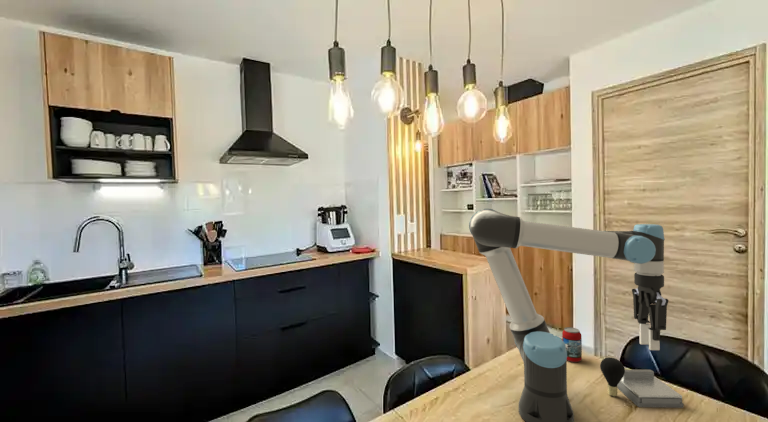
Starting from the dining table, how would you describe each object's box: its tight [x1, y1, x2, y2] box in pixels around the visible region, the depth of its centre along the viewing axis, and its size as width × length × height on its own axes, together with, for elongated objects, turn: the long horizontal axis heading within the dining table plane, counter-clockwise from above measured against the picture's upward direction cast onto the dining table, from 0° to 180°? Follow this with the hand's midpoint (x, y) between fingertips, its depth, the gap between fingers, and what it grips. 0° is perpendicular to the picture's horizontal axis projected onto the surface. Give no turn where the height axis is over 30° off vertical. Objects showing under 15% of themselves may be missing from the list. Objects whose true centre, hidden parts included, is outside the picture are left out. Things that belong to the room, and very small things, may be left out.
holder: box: [617, 382, 684, 409], centre depth 116 cm, size 13×18×3 cm
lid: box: [620, 368, 683, 399], centre depth 113 cm, size 13×12×3 cm
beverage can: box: [561, 326, 583, 363], centre depth 140 cm, size 7×7×12 cm
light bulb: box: [599, 357, 625, 397], centre depth 114 cm, size 7×7×12 cm
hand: (649, 346), depth 112 cm, fingers open, 4 cm apart
